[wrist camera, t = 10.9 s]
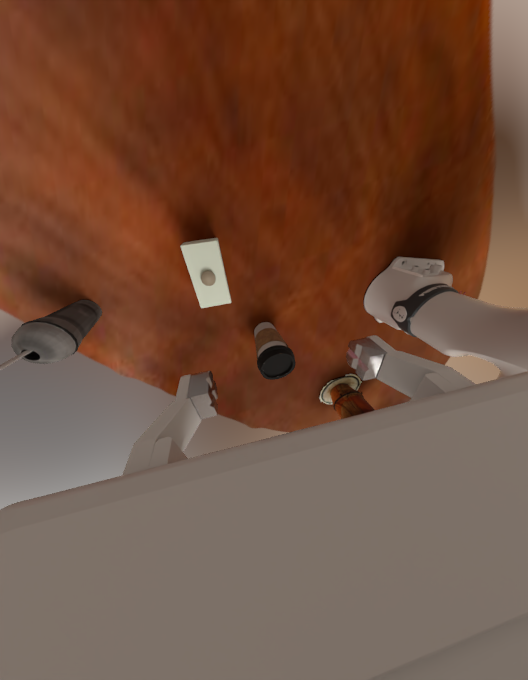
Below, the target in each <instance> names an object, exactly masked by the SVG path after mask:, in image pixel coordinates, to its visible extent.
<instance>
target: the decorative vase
mask: <svg viewBox="0 0 528 680" xmlns="http://www.w3.org/2000/svg"><path fill="white" fill-rule="evenodd" d="M361 383H362V381H360V378H358V376H356V375H354V374H349V375H345V376H344V377H343V378H338V379H335V380H332V381H330V382H329V383H327V385H326V386H325V387H323V389H322V391H321V394H320V397H319V399H320V401H321V402H322V401H323V402H324V403H326V404H333V406H334V409H335V410H336V411H337V413H338V414H339V416H340V417H341V419H344V418H348V417H352V416H356V415H360V414H364V413H368V412H371V411H375V410H374V409H373V408H372V407H371V406H370V405H369V404H368V402H367V401H366V400H365V399H364V398H363V396H362V394H361V393H362V392H361V393H359V392H358V391H357V390H358V388H359V386H360V384H361Z"/></svg>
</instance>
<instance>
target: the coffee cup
mask: <svg viewBox="0 0 528 680" xmlns="http://www.w3.org/2000/svg"><path fill="white" fill-rule="evenodd" d="M254 335H255V343H256V352H257V359H258V360H257V365H258V368H259V370H260V372H261V374H262V375H263V377H264V378H266V379H279V378H282V377H284V376H286V375H288V374H289V373H290V372H291V371H292V370H293V369H294V367H295V358H294V354H293V352H292V350H291V349H290V348H288V346H287V344H286V343H285V341H284V340H283V339H282V337H281V336H280V334H279V333H278V332H277V330H276V329H275V327H274V326H273V325H272V324H271V323H269V322H263V323H260V324H259V325H257V326H256V328H255V330H254Z"/></svg>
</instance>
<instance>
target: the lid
mask: <svg viewBox="0 0 528 680" xmlns="http://www.w3.org/2000/svg"><path fill="white" fill-rule="evenodd" d="M180 247H181V250H182V253H183V256H184V259H185V262H186V265H187V268H188V271H189V274H190V277H191V280H192V283H193V286H194V289H195V292H196V295H197V298H198V301H199V304H200V307H201V308H205V307H211V306H216V305H222V304H228V303H231V297H230V292H229V288H228V283H227V279H226V274H225V269H224V265H223V260H222V256H221V251H220V247H219V242H218V238H212V239H205V240H198V241H191V242H184V243H183V244H182V245H181V246H180Z"/></svg>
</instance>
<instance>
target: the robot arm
mask: <svg viewBox="0 0 528 680" xmlns="http://www.w3.org/2000/svg"><path fill="white" fill-rule="evenodd" d="M452 282H453V277H452V275H451V274H450V273H447V272H444V261H442V260H438V259H425V258H411V257H397V258H396V259H395V260H394V261H393V262H392V263H391V264H390V266H389V267H388V268H387V269H386V270H385V271H383V272H382V273H381V274H380V275H378V276H377V277H376V278H375V279H374V281H373V282H372V283H371V285H370V286H369V288H368V290H367V292H366V295H365V298H364V306H365V309H366V311H367V312H368V313H369V314H371V315H373V316H374V318H375V320H376V321H377V322H379V323H382V322H384V323H386V324H388V325H390V326H392V327H394V328H396V329H398V330H401V329H402V330H403V331H404V332H405V333H407V334H409V335H411V336H413V337H418V338H420V339H421V340H423V341H424V342H426V343H427V344H429V345H430V346H432V347H433V348H435V349H437V350H438V351H440V352H441V353H443V354H445V355H448V356H453V357H460V356H467V355H472V356H475V357H478V358H481V359H484V360H486V361H488V362H491V363H492V364H494V365H495V366H497V367H498V368H499V369H500V370H501V371H500V373H499V376H498V378H497V379H496V380H492V381H488V382H484V383H480V384H475V383H473V382H472V381H470V380H469V379H467V378H466V377H464V376H463V375H462V374H460V373H459V372H457V371H456V370H454V369H453V368H451V367H448V366H445V365H442V364H439V363H436V362H433V361H429V360H426V359H423V358H420V357H417V356H414V355H411V354H408V353H404V352H401V351H396V350H395V349H393V348H392V347H391V346H389V345H388V344H387V343H386V342H384V341H383V340H382V339H381V338H379V337H378V336H375V335H374V336H370V337H366V338H361V339H357V340H352V341H350V342H349V345H348V347H349V348H350V349H349V350H348V352H347V355H346V358H347V362H348V364H349V365H350V366H351V367H352V368H354V369H356V373H357V375H358V376H359V377H360V378H361V379H362V380H363V381H364V380H369V379H374V378H377V379H378V380H380V381H382V382H384V383H385V384H387V385H389V386H391V387H393V388H394V389H396V390H398V391H400V392H402V393H403V394H405V395H407V396H409V397H411V400H410V402H406V403H402V404H399V405H395V406H391V407H387V408H383V409H379V410H375V411H371V412H368V413H364V414H360V415H356V416H352V417H348V418H344V419H340V420H337V421H333V422H329V423H325V424H321V425H317V426H313V427H309V428H306V429H302V430H298V431H294V432H290V433H286V434H282V435H278V436H275V437H271V438H267V439H263V440H259V441H255V442H251V443H247V444H243V445H240V446H236V447H232V448H228V449H224V450H220V451H216V452H212V453H208V454H205V455H201V456H197V457H193V458H189V459H188V458H187V457H186V456H185V454H184V453H183V452H184V450H185V448H186V447H187V445H188V443H189V441H190V440H191V438H192V436H193V434H194V433H195V431H196V429H197V427H198V426H199V424H200V422H201V419H205V418H209V417H212V416H216V415H217V410H218V404H217V402H216V399H217V398H218V393H217V387H216V383H215V381H214V380H213V375H212V373H211V371H205V372H200V373H195V374H191V375H185V376H182V377H181V378H180V382H179V386H178V391H177V395H176V399H175V401H174V402H172V403H171V404H170V405H169V406H168V407H167V408H166V409H165V410H164V412H162V414H161V415H160V416H159V417H158V418H157V419H156V420H155V421H154V422H153V423H152V425H151V426H150V427H149V428H148V429H147V430H146V431H145V432H144V433H143V434H142V436H141V437H140V438H139V439H138V440H137V441H136V442H135V443H134V445H133V448H132V450H131V453H130V456H129V459H128V461H127V464H126V467H125V470H124V472H123V475H122V476H119V477H115V478H111V479H107V480H104V481H99V482H96V483H92V484H88V485H84V486H81V487H76V488H72V489H68V490H65V491H61V492H57V493H53V494H49V495H46V496H41V497H37V498H33V499H29V500H25V501H21V502H17V503H14V504H12V505H9V506H7V507H5V508H3V509H1V510H0V680H528V308H511V307H503V306H498V305H494V304H490V303H487V302H483V301H480V300H477V299H474V298H471V297H468V296H465V293H466V292H464V293H463V295H462V294H461V292H462V291H460V292H459V293H458V291H456V290H455V289H453V287H451V286H452Z"/></svg>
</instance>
